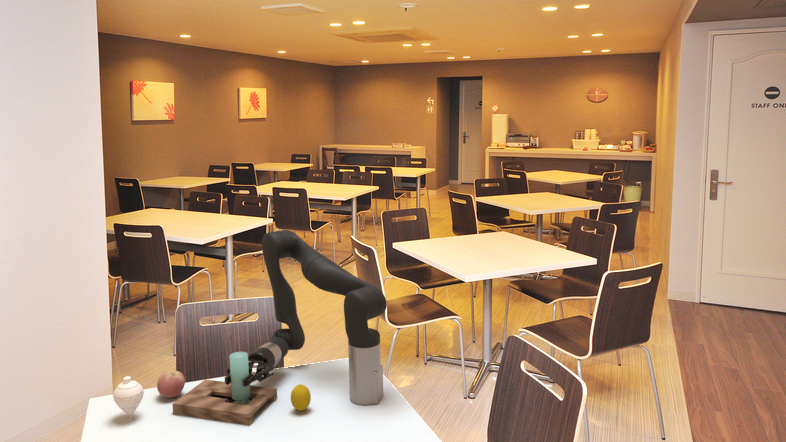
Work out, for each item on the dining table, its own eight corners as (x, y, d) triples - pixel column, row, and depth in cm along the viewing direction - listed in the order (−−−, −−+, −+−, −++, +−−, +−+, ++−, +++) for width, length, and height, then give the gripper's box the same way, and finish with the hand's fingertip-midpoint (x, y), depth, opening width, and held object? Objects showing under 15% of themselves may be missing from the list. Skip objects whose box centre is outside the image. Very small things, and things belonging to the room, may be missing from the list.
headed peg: (254, 405, 171) (251, 352, 168) (245, 413, 166) (241, 359, 164) (238, 402, 173) (235, 350, 170) (229, 411, 168) (225, 357, 165)
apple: (172, 405, 172) (170, 379, 171) (152, 400, 175) (149, 374, 174) (191, 393, 179) (189, 368, 178) (171, 389, 182) (169, 364, 181)
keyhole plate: (277, 398, 175) (276, 388, 175) (249, 425, 160) (249, 414, 159) (206, 389, 182) (205, 379, 181) (173, 414, 167) (172, 403, 166)
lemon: (307, 416, 164) (306, 389, 163) (288, 414, 166) (287, 387, 164) (313, 407, 170) (312, 380, 168) (295, 405, 171) (294, 379, 169)
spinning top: (142, 423, 162) (138, 382, 160) (112, 426, 160) (107, 384, 158) (148, 410, 169) (145, 370, 167) (120, 412, 168) (116, 372, 166)
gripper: (243, 344, 183) (211, 367, 167) (285, 349, 179) (257, 372, 163) (244, 367, 184) (213, 392, 168) (286, 372, 180) (258, 398, 164)
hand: (235, 382), depth 165 cm, fingers closed on headed peg, 5 cm apart
